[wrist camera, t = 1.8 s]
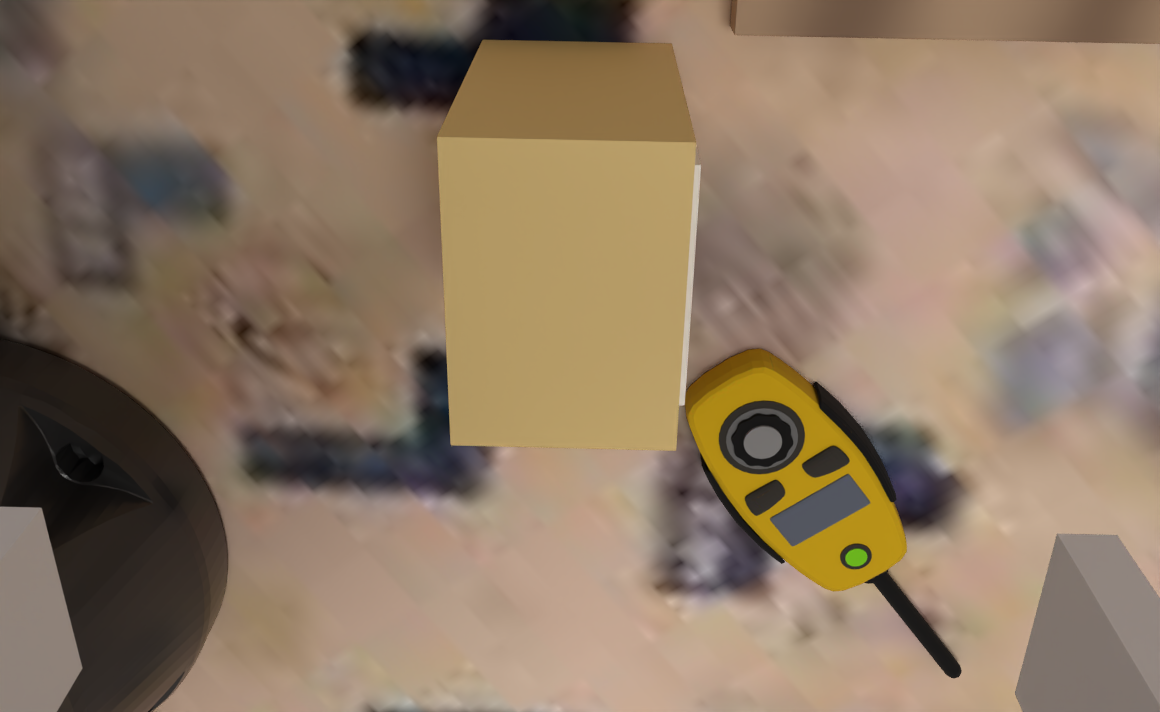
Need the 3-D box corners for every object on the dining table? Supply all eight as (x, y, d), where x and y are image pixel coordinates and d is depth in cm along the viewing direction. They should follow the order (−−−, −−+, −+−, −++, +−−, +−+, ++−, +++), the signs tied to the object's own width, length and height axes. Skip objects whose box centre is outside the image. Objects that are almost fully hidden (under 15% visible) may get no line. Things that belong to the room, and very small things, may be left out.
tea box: (488, 281, 33) (450, 445, 25) (482, 39, 29) (436, 137, 21) (665, 285, 32) (684, 450, 25) (679, 43, 29) (706, 142, 21)
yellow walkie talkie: (791, 346, 32) (1032, 668, 37) (782, 317, 33) (1013, 629, 39) (652, 431, 33) (903, 730, 38) (651, 399, 35) (891, 689, 40)
